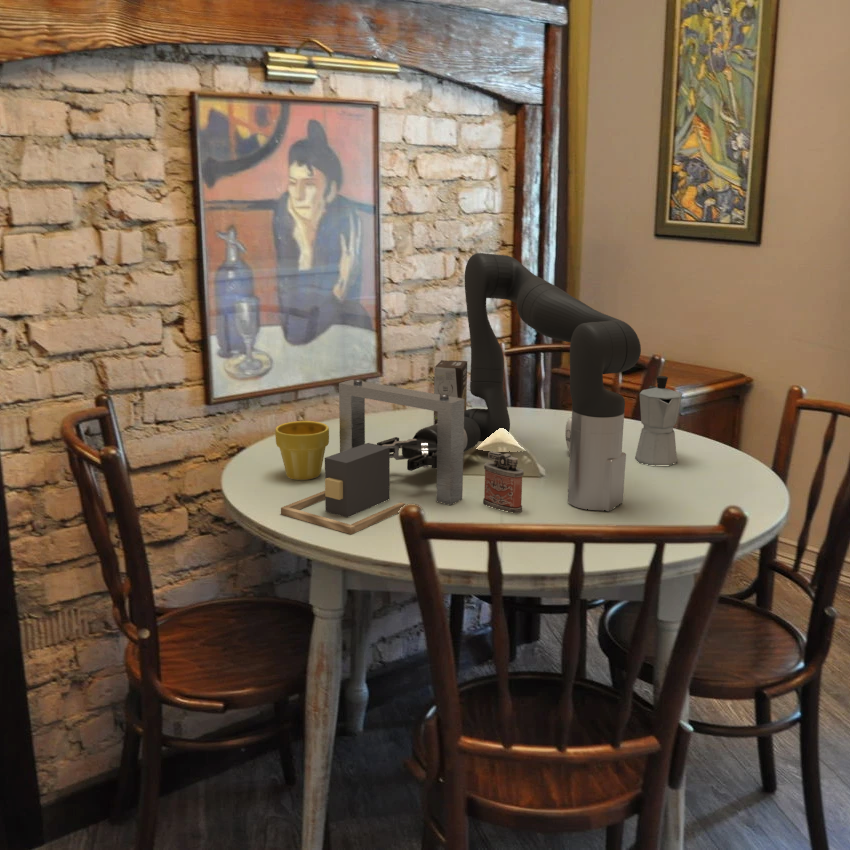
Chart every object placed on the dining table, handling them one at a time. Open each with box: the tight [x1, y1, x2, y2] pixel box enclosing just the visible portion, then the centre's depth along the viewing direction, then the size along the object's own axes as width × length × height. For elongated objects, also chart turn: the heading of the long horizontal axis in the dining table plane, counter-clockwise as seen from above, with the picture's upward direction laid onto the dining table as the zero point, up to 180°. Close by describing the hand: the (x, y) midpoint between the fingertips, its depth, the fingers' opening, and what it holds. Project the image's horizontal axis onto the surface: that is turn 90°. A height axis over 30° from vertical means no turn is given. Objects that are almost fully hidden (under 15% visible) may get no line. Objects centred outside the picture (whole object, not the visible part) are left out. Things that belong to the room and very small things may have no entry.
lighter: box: [482, 450, 525, 514], centre depth 175 cm, size 8×3×10 cm, turn 48°
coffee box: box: [433, 359, 468, 425], centre depth 223 cm, size 9×6×16 cm
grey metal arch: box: [338, 379, 464, 506], centre depth 183 cm, size 26×4×20 cm, turn 54°
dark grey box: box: [324, 442, 391, 518], centre depth 175 cm, size 5×13×10 cm, turn 144°
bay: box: [280, 490, 406, 535], centre depth 173 cm, size 16×15×1 cm
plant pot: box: [274, 420, 330, 481], centre depth 192 cm, size 10×10×10 cm
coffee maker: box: [634, 375, 683, 466], centre depth 204 cm, size 15×9×18 cm, turn 0°
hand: (390, 461), depth 182 cm, fingers open, 8 cm apart
